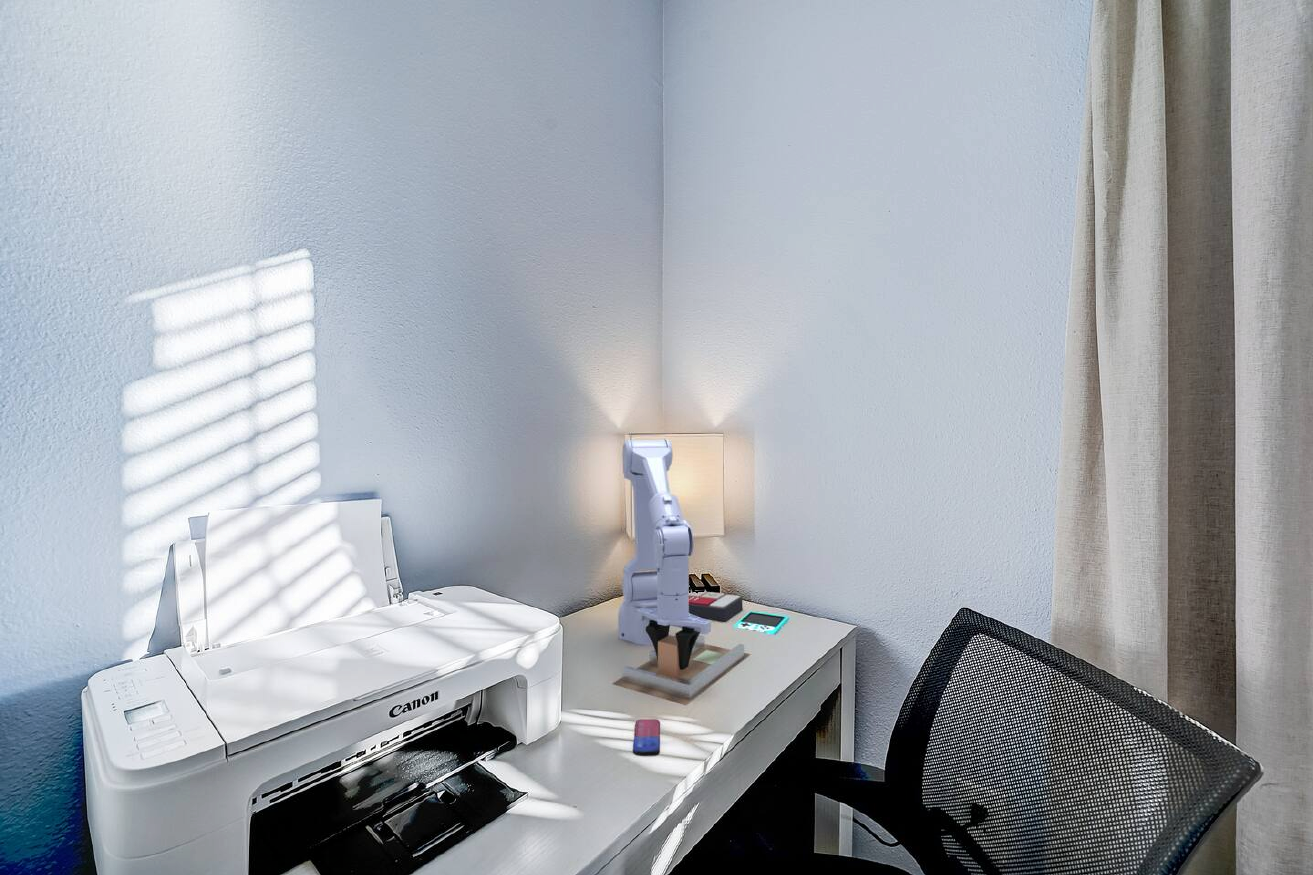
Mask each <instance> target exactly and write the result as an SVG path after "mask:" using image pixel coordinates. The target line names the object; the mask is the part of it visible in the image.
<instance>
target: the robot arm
mask: <svg viewBox="0 0 1313 875" xmlns="http://www.w3.org/2000/svg"><path fill="white" fill-rule="evenodd" d="M621 455H622V474H623V477H624V479H626V480H628V481H630V482H631V486H632V491H633V493H632V494H633V523H634V547H635V548H634V550H635V556H634V557H633V558H631V560H629V561H628V562H627V563H626V564H625V565H624V567H623V568H622V569H623V570H622V571H623V573H622V574H623V575H622V583H621V584H622V596H623V599H624V600H623V601H622V603H621V604H620V606H619V610H618V615H617V618H618V619H617V620H618V621H617V622H618V625H617V626H618V629H617V630H618V632H617V633H618V639H620V640H623V641H628V642H631V643H633V644H636V645H640V646H653V650H655V652H656V656H657V660H658V641H660V640H661V639H663V638H665V637H667V636H668V635H670V630H671V629H670V628H671V627H674V628H681V630H679V631H677V632H675V634H674V636H676V639H677V643H678V649H679V667H680V669H681V670H684V669H685V668H687V667H688V666H689V661H690V656H691V653H692V650H693V647H694V644H695V642H696V640H697V638H698V636H700V634H701V635H704V636H706V635H707V634H709V633H711V632H712V620H708V619H706V618H700V617H697V616H695V615H692V614H689V591H690V590H689V587H690V586H689V584H690V580H689V578H690V576H689V575H690V573H689V572H690V571H689V570H690V569H689V568H690V564H689V562H690V561H689V560H690V558H689V557H691V556H692V555H693V552H694V536H693V530H692V526H691V525H690V524H689V523H688V521H687V520H685V519H684V518H683V514H682V510H681V507H680V503H679V500H678V497H677V496H675V494H673V493H671V491H670V485H669V478H668V472H669V470H670V468H671V466H672V464H673V456H674V455H673V447H672V443H671V441H669V439H667V438H664V439H649V440H646V439H645V440H644V439H640V440H639V439H637V440H635V439H634V440H630V439H626V440H625V442H623V444H622V454H621Z"/></svg>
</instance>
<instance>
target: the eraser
mask: <svg viewBox="0 0 1313 875" xmlns="http://www.w3.org/2000/svg"><path fill="white" fill-rule="evenodd" d="M660 735H661V721H660V720H659V719H657V718H651V719H650V718H646V719H645V718H639V719H638V720H636V721H635V724H634V735H633V737H634V738H633V742H632V743H633V745H632V753H633V754H634V755H635V756H636V755H637V756H657V755H659V754H661V736H660Z"/></svg>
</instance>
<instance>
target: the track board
mask: <svg viewBox="0 0 1313 875" xmlns="http://www.w3.org/2000/svg"><path fill="white" fill-rule="evenodd" d="M730 650H731V649H729V648H725V647H721V646H716V645H711V644H706V643H704V649H702V650H701V651H699V652H698V653H696V654H695V655H693V656H692V657H690V661H689V666H688V672H686V673H685V674H683V675H682V676H681V677H679V678H678V679H679V680H682V681H686V682H688V681H689V680H691V679H692V678H693V677H695V676H696V675H698V674H699V673H700V672H702V671H703V670H704V669H706V668H707V667H708V666H710V665H711V664H713V663H714V662H715V661H717V660H718V659H719V658H721V657H722V656H724V655H725V654H726V653H728V652H729V651H730ZM751 655H752V654H751V653H746V652H744V658H742V659H741V660H740V661H738V662H737V663H736V664H735V665H733V666H732V667H731V668H729V669H728V670H727V671H726V672H724V673H723V674H722V675H721V676H719V677H718V678H717V679H715V680H714V681H713V682H712V683H710V684H709V685H708V686H707V687H705V688H704V689H703V690H701V691H700V692H699V693H698V694H696V695H695V696H694V697H692V698H691V699H690V700H689V699H685V698H682V697H678V696H675V695H671V694H668V693H664V692H661V691H657V690H653V689H650V688H646V687H643V686H639V685H636V684H632V683H629V682H625V681H623V676H622V677H621V678H619V679H617V680H616V681H614V682H612V683H611V684H612V685H615V686H618V687H620V688H625V689H628V690H632V691H635V692H639V693H642V694H645V695H649V696H653V697H656V698H660V699H662V700H663V699H664V700H665V701H666V700H667V701H670V702H674V703H677V704H681V705H683V706H688V705H689V704H690V703H691V702H693V701H694V700H695V699H696V698H698V697H699V696H700V695H702V694H703V693H704V692H705V691H707V690H708V689H709V688H710V687H711V686H713V685H714V684H716V683H717V682H718V681H719V680H720V679H722V678H723V677H724V676H725V675H727V674H728V673H730V671H731V670H733V669H734V668H735V667H737V666H739V664H741V663H742V662H743V661H744V660H746V658H749V656H751ZM636 668H637V669H641V670H645V671H648V672H652V673H656V674H658V666H655V665H651V664H650V660H648V661H647V662H645V663H643V664H642V665H640V666H639V667H636ZM663 676H664V675H663ZM667 677H668V676H667Z"/></svg>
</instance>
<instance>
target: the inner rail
mask: <svg viewBox="0 0 1313 875" xmlns="http://www.w3.org/2000/svg"><path fill="white" fill-rule="evenodd" d="M704 644H705V635H703V634H701V635H700V634H699V636H698V638H697V640H696V642H695V644H694V647H693V650H692V653H691V656H690V657H692V656H693V655H695V654H696V653H698V652H699V651H701V650H702V649H704ZM649 661H650V664H651V665H655V666H658V660H657V656H656V652H655V649H652V650H650V651H649Z"/></svg>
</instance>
